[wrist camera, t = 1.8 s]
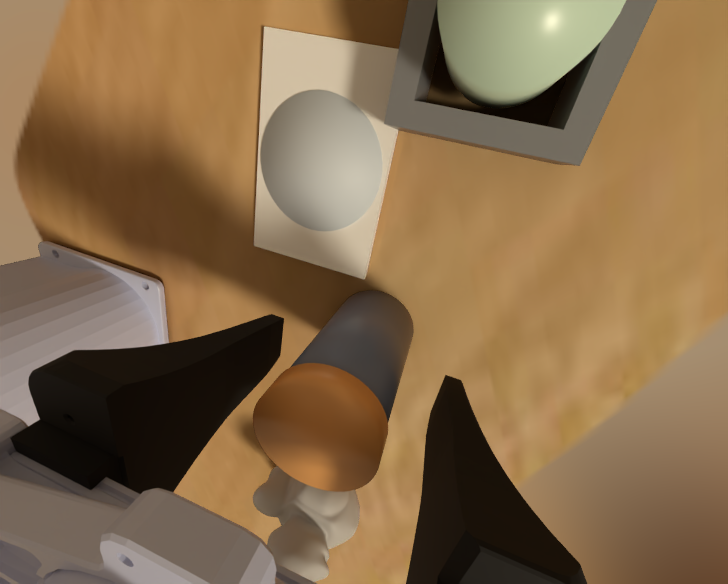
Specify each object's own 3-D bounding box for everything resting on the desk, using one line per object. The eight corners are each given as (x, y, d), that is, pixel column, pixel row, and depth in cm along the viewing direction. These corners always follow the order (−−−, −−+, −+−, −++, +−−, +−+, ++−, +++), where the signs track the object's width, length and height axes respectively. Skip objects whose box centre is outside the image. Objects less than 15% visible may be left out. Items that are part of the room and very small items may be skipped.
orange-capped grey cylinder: (330, 346, 18) (249, 459, 11) (343, 278, 16) (255, 365, 9) (403, 371, 17) (364, 510, 10) (425, 303, 15) (395, 418, 8)
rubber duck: (353, 514, 23) (303, 675, 16) (273, 470, 24) (192, 605, 16) (380, 472, 20) (335, 639, 13) (290, 424, 21) (202, 559, 14)
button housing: (398, 130, 13) (383, 123, 10) (444, -81, 10) (438, -153, 8) (556, 164, 11) (579, 165, 9) (655, -61, 9) (721, -137, 7)
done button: (429, 96, 10) (417, 75, 8) (468, -60, 9) (470, -155, 6) (549, 119, 10) (580, 105, 7) (615, -45, 8) (688, -144, 5)
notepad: (257, 244, 16) (252, 246, 16) (268, 29, 12) (262, 25, 12) (366, 277, 15) (363, 280, 15) (415, 54, 11) (413, 50, 11)
